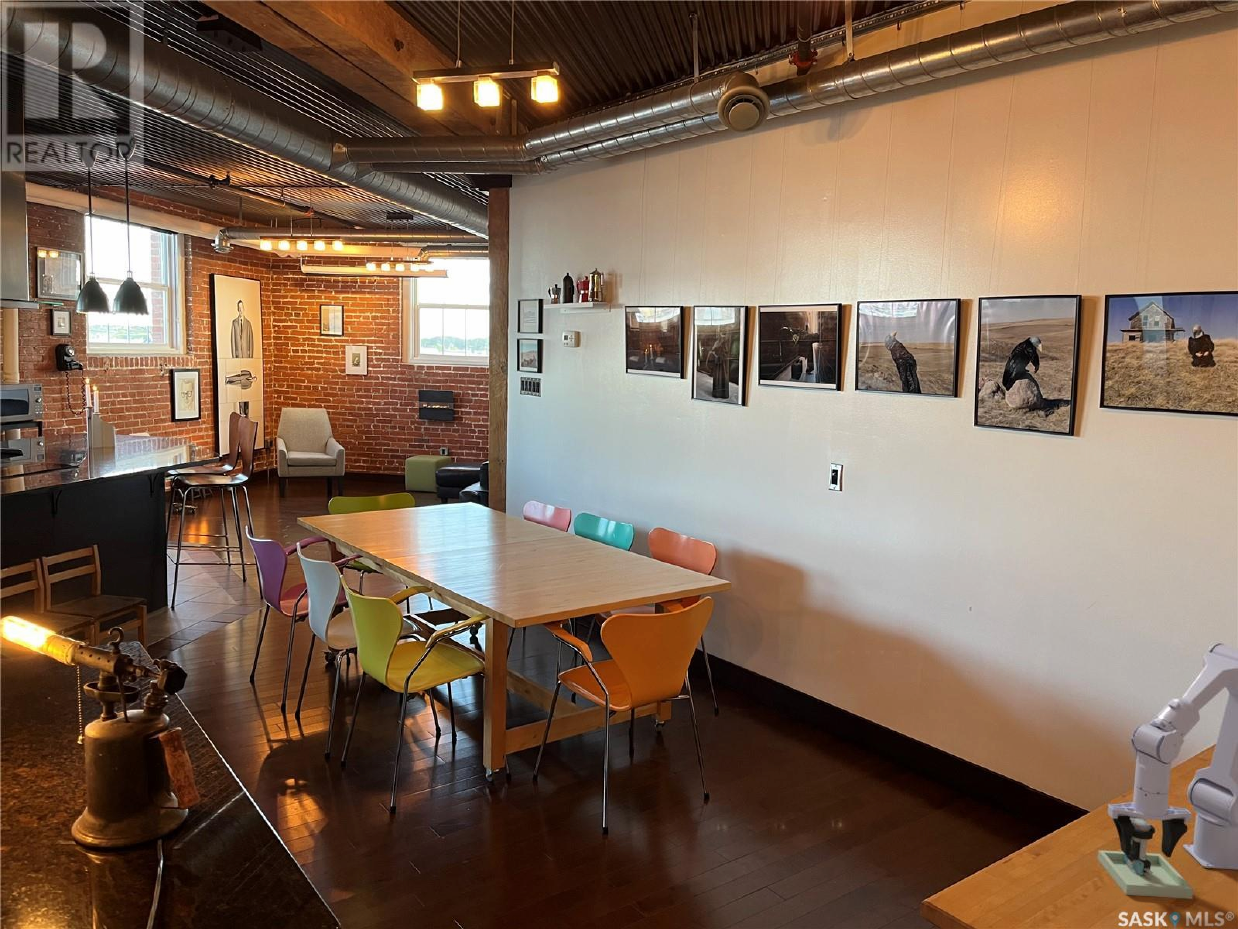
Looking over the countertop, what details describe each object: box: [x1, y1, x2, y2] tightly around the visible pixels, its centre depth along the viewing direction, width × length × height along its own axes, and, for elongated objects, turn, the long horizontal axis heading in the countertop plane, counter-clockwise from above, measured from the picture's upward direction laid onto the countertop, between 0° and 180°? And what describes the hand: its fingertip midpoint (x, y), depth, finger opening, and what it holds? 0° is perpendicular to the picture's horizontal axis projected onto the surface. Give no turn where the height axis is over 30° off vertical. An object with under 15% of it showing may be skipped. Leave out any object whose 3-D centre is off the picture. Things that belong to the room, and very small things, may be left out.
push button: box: [1124, 818, 1156, 878], centre depth 175 cm, size 7×5×10 cm
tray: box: [1097, 849, 1194, 900], centre depth 174 cm, size 12×12×2 cm
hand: (1145, 853), depth 173 cm, fingers open, 7 cm apart
